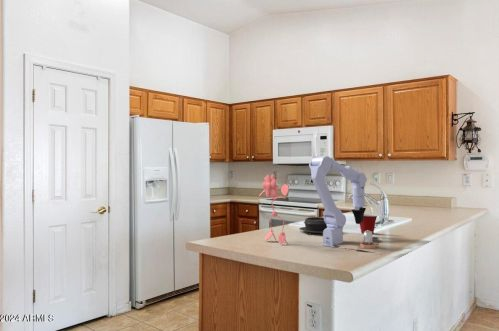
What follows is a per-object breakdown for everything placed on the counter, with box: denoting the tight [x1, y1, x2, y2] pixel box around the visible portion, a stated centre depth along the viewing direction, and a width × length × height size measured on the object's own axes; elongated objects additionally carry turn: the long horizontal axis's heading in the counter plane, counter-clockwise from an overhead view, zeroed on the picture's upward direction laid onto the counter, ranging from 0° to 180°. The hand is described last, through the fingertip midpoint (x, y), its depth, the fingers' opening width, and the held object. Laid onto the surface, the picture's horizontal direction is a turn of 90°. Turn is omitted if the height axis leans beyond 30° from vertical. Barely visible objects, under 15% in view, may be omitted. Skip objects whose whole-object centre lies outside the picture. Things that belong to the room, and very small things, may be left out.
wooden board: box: [357, 239, 382, 254], centre depth 179 cm, size 23×8×2 cm, turn 156°
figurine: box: [258, 174, 290, 245], centre depth 193 cm, size 15×26×35 cm, turn 32°
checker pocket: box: [372, 236, 380, 243], centre depth 186 cm, size 7×7×2 cm
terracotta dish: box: [359, 242, 376, 250], centre depth 172 cm, size 7×7×2 cm
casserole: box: [299, 216, 328, 235], centre depth 222 cm, size 25×19×8 cm
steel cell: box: [363, 230, 373, 245], centre depth 172 cm, size 4×4×8 cm
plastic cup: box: [359, 213, 379, 235], centre depth 209 cm, size 11×11×12 cm
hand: (359, 222), depth 194 cm, fingers open, 7 cm apart
